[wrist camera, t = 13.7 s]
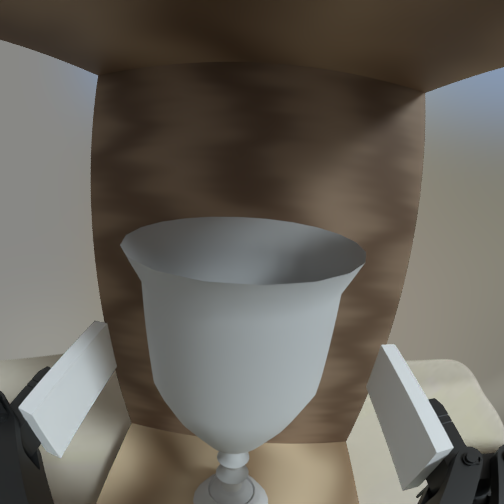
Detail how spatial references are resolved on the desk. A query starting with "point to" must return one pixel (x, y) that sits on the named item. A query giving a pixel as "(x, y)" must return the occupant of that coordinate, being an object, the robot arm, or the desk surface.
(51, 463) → the desk surface
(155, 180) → the walnut shelf
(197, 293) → the chalice
